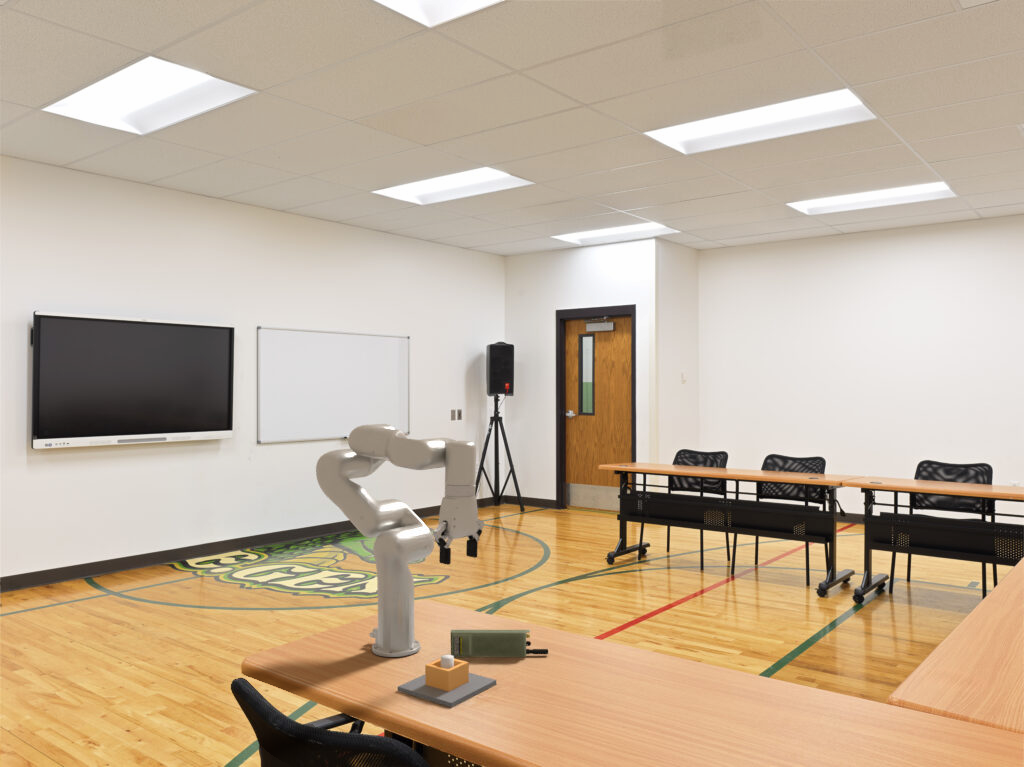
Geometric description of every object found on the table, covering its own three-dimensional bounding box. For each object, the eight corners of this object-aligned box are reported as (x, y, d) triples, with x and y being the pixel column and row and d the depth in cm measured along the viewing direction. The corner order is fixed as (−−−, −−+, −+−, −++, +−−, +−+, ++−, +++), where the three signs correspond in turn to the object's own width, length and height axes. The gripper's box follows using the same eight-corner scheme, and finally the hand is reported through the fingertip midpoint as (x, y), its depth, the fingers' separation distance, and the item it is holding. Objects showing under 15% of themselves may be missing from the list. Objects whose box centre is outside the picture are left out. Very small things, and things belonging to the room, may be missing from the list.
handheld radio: (451, 653, 201) (548, 654, 200) (450, 658, 198) (548, 659, 197) (451, 628, 201) (548, 628, 200) (450, 632, 198) (548, 633, 197)
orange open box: (425, 684, 177) (425, 664, 177) (445, 675, 183) (445, 656, 183) (448, 691, 173) (448, 671, 173) (468, 681, 179) (468, 662, 179)
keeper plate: (397, 691, 176) (397, 660, 176) (443, 669, 189) (443, 641, 189) (451, 707, 167) (451, 675, 167) (496, 684, 180) (496, 654, 180)
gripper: (472, 485, 201) (470, 551, 201) (424, 493, 187) (422, 563, 187) (494, 489, 196) (492, 556, 196) (446, 496, 182) (445, 569, 183)
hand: (458, 560), depth 192 cm, fingers open, 9 cm apart
